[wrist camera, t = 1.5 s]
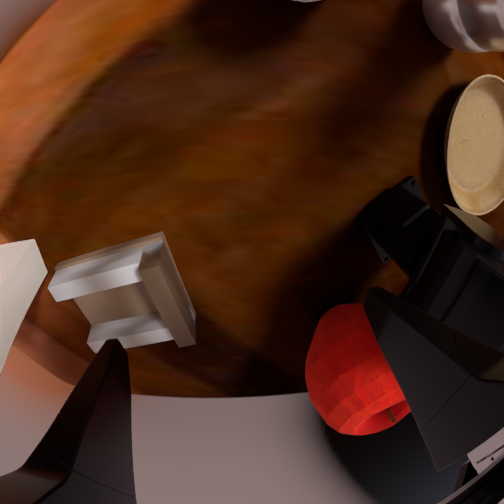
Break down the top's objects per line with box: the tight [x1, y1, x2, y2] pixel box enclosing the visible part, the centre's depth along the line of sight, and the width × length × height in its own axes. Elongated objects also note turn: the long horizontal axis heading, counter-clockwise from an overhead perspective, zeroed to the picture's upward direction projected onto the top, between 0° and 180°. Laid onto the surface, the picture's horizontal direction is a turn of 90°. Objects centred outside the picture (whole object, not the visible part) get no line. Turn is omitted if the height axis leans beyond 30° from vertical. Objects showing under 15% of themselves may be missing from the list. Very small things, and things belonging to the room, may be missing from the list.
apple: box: [305, 303, 411, 435], centre depth 25 cm, size 12×12×13 cm
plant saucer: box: [444, 75, 504, 215], centre depth 20 cm, size 15×15×3 cm
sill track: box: [48, 231, 196, 353], centre depth 22 cm, size 10×9×4 cm
